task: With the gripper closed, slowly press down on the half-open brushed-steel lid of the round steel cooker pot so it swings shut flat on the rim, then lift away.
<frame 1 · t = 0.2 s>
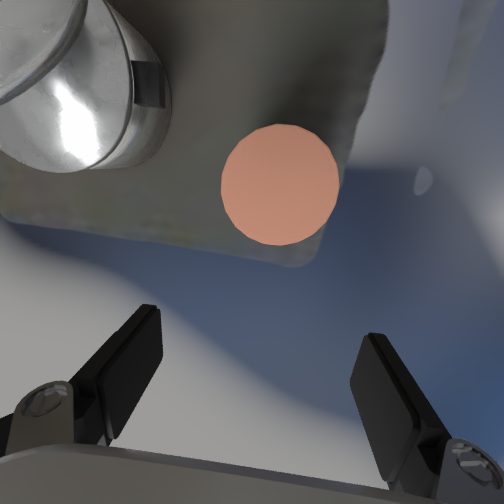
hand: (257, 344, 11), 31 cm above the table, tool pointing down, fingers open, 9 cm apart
cooker pot: (107, 98, 36), on the table
coffee jar: (276, 178, 38), on the table
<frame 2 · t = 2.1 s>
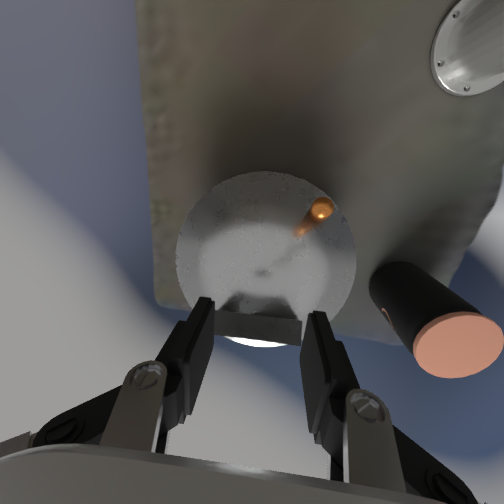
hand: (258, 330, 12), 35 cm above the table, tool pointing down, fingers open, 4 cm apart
cooker lid: (265, 250, 27), point 19 cm above the table, hinge at 35.0°
coffee jar: (393, 283, 48), on the table
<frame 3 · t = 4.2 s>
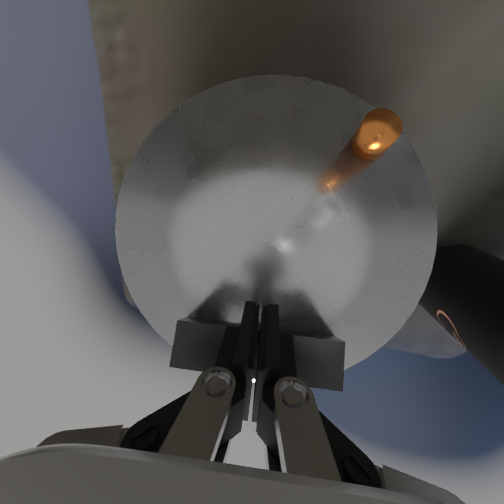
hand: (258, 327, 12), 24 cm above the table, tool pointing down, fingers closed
cooker lid: (272, 210, 15), point 19 cm above the table, hinge at 30.7°, touching gripper
coffee jar: (444, 275, 35), on the table
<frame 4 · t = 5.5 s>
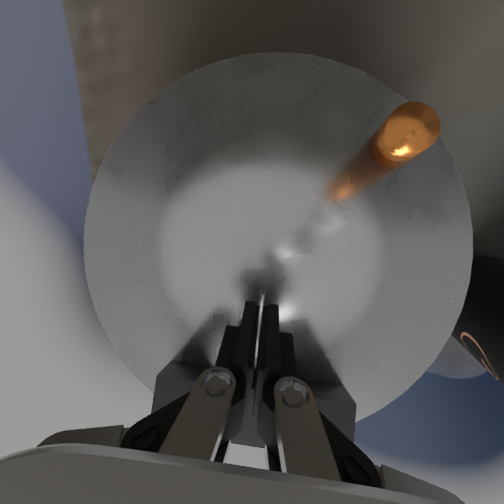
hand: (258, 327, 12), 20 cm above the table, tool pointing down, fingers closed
cooker lid: (271, 233, 12), point 18 cm above the table, hinge at 24.9°, touching gripper
coffee jar: (464, 289, 32), on the table
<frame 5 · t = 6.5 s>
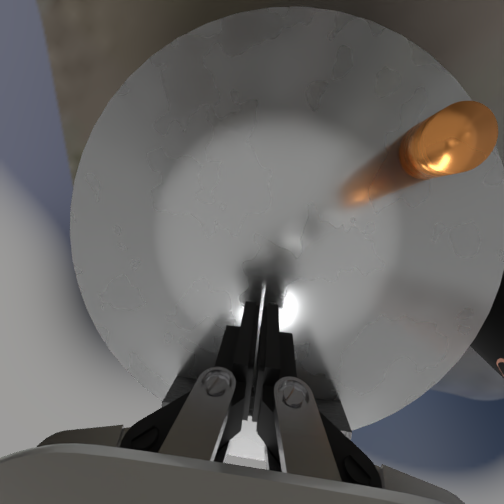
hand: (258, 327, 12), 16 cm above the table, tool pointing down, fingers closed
cooker lid: (273, 259, 11), point 16 cm above the table, hinge at 11.4°, touching gripper
coffee jar: (495, 303, 28), on the table
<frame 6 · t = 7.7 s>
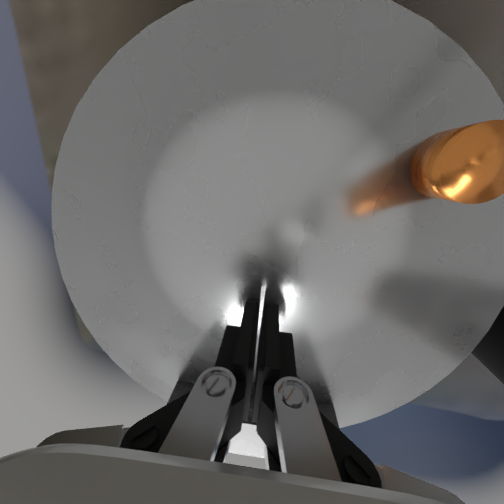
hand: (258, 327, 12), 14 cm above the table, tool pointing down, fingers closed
cooker lid: (268, 280, 11), point 14 cm above the table, hinge at 1.7°, touching gripper
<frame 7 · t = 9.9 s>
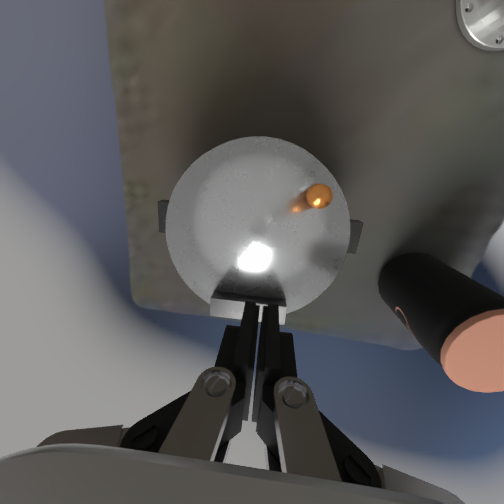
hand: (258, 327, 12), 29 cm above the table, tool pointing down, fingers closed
cooker lid: (255, 239, 27), point 14 cm above the table, hinge at 1.5°
cooker pot: (260, 212, 39), on the table
coffee jar: (406, 278, 42), on the table
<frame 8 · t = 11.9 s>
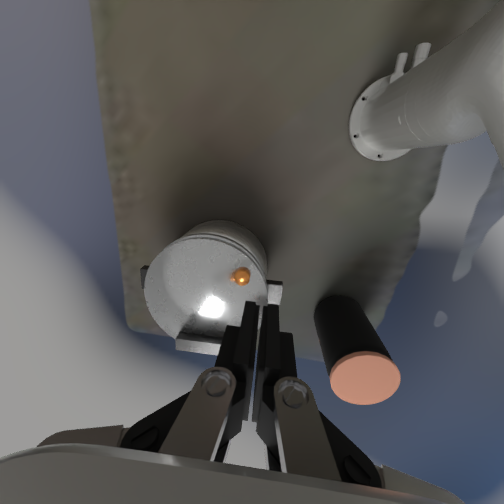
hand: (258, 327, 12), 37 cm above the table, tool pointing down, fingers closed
cooker lid: (204, 300, 39), point 14 cm above the table, hinge at 1.5°
cooker pot: (221, 264, 52), on the table
coffee jar: (336, 312, 54), on the table
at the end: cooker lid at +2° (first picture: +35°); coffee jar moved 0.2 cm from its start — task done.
